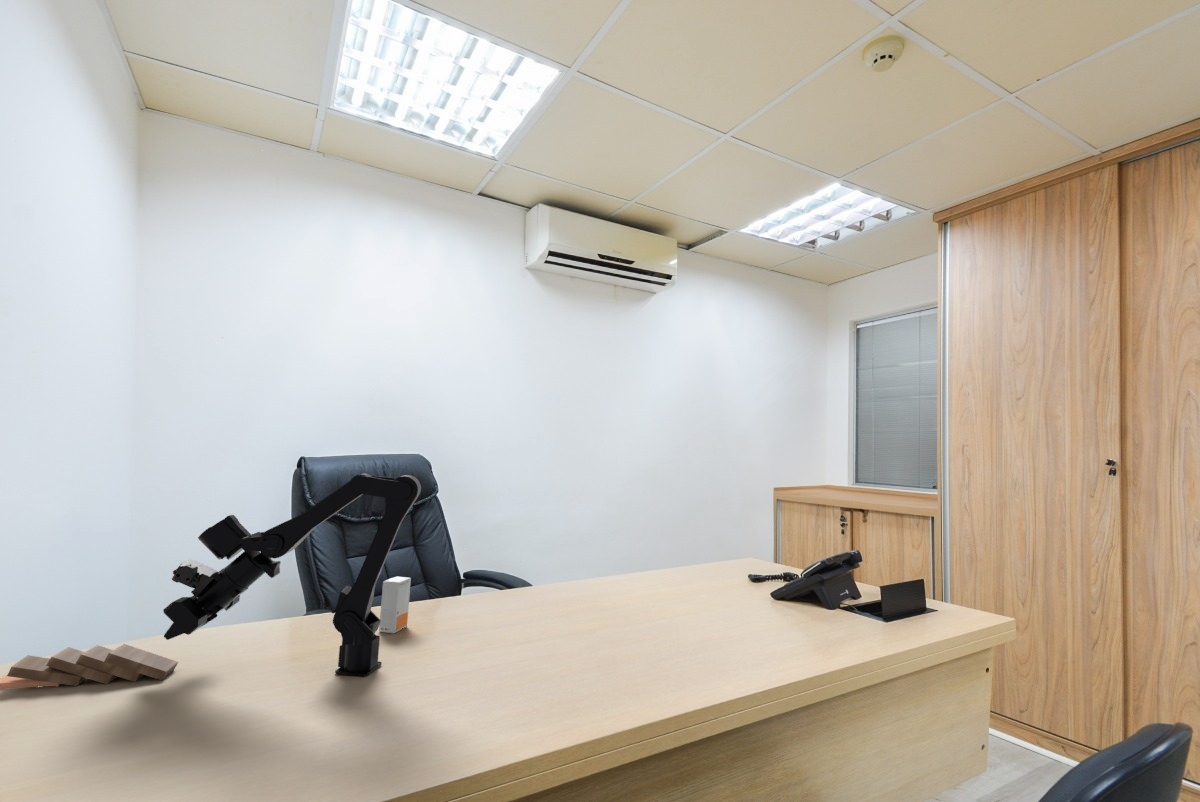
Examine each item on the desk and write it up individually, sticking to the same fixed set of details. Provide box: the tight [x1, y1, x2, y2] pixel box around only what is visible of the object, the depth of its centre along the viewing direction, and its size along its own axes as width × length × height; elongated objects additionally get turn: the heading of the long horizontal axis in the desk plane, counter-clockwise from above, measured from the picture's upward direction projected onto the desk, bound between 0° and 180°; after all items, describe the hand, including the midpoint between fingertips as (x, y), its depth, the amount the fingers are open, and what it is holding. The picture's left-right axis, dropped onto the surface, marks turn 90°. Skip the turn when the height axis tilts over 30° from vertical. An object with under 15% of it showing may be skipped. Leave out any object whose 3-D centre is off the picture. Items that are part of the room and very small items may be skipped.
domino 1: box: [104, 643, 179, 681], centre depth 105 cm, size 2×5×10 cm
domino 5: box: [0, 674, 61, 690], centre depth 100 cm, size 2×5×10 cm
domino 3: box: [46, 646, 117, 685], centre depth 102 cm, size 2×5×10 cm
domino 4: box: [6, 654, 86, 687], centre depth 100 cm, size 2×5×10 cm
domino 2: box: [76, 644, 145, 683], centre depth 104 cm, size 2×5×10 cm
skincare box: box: [378, 576, 412, 634], centre depth 138 cm, size 6×4×12 cm
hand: (166, 637), depth 105 cm, fingers closed
